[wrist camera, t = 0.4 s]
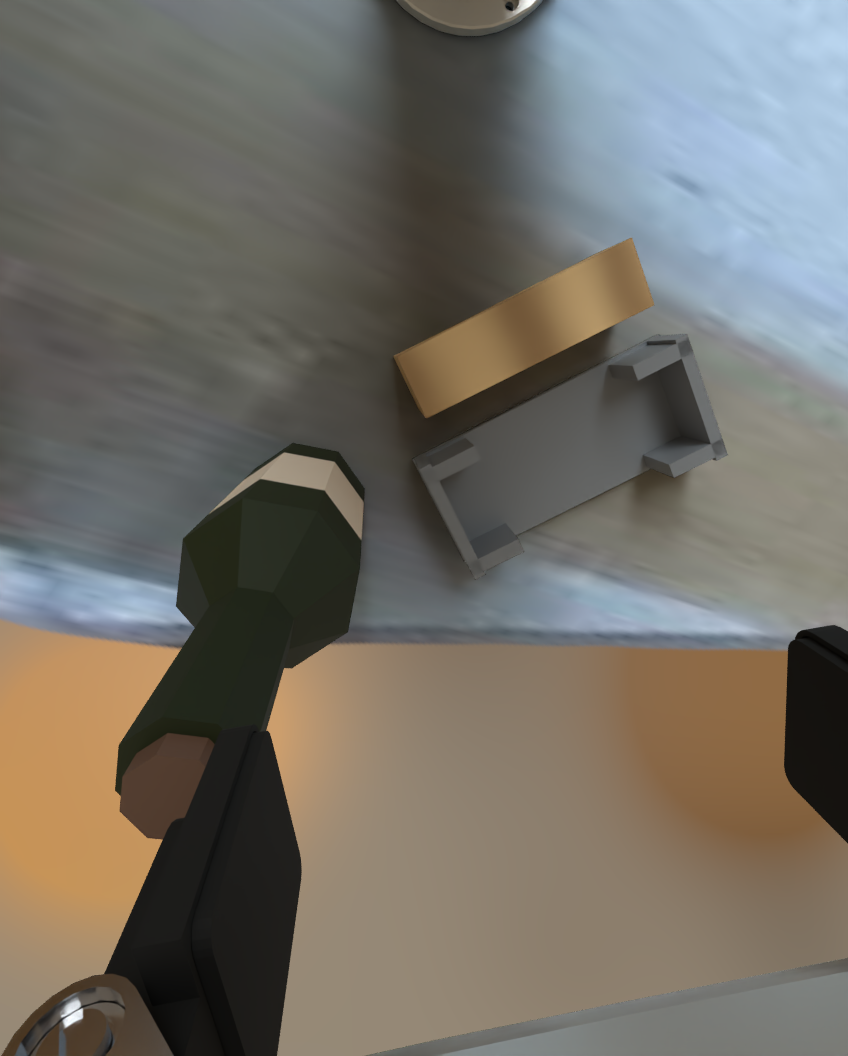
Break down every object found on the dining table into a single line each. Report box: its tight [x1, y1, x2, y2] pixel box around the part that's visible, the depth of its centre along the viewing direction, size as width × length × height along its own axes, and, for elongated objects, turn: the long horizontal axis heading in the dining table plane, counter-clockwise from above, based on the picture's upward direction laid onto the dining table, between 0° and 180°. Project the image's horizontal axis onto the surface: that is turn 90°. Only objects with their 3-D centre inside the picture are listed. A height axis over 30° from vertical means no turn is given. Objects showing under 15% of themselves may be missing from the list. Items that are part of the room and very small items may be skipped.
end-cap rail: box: [412, 334, 728, 580], centre depth 41 cm, size 19×8×5 cm, turn 116°
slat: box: [394, 238, 654, 418], centre depth 38 cm, size 15×4×6 cm, turn 116°
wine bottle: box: [115, 443, 365, 839], centre depth 28 cm, size 8×8×30 cm
